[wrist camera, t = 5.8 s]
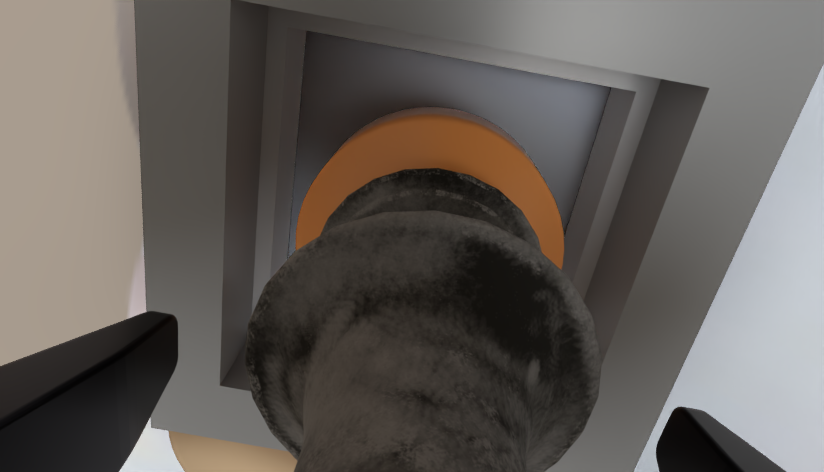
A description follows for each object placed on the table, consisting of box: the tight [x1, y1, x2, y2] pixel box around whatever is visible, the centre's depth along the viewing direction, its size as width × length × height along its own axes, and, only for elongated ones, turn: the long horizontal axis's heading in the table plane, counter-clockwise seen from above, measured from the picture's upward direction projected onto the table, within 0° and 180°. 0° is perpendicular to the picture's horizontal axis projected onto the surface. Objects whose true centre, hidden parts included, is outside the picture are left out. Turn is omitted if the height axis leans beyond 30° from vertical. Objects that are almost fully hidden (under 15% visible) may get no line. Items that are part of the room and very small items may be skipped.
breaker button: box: [296, 107, 564, 269], centre depth 14 cm, size 7×7×2 cm
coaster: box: [169, 431, 297, 472], centre depth 21 cm, size 9×9×1 cm
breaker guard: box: [134, 0, 824, 472], centre depth 15 cm, size 14×14×4 cm
